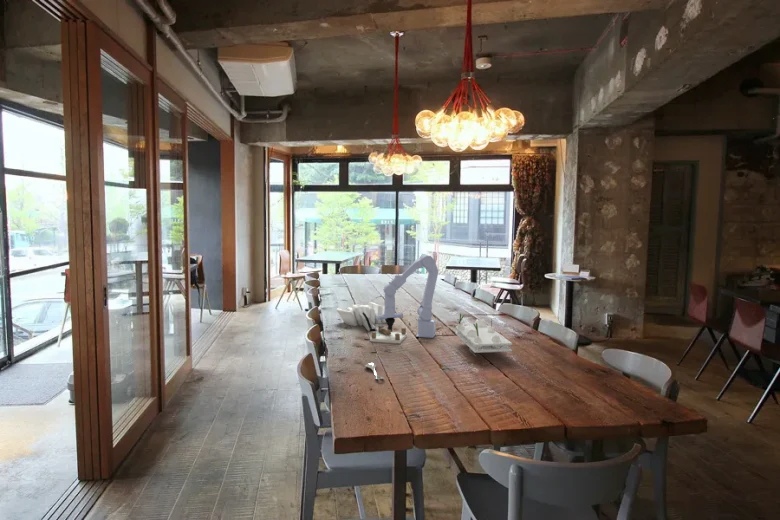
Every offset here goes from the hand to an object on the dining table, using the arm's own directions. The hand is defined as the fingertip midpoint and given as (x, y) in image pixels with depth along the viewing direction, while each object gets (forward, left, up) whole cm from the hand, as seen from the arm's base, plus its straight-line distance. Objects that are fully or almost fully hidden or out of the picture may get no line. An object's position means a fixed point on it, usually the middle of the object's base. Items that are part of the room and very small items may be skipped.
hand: (390, 331), depth 253 cm
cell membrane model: (-48, +14, -3) cm, 50 cm away
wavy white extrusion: (+25, -31, -3) cm, 40 cm away
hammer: (+4, -1, -1) cm, 4 cm away
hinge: (+19, -17, -3) cm, 25 cm away
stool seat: (0, +3, -3) cm, 4 cm away
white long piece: (-11, +59, -4) cm, 60 cm away
